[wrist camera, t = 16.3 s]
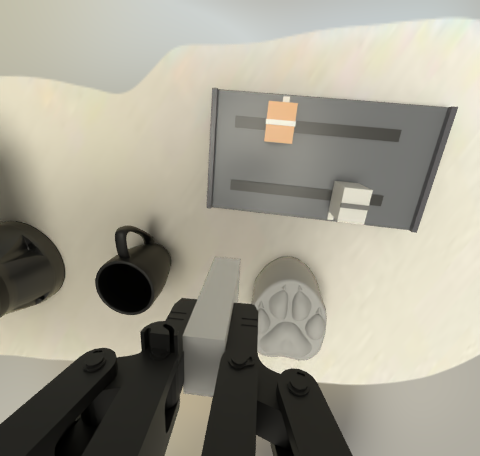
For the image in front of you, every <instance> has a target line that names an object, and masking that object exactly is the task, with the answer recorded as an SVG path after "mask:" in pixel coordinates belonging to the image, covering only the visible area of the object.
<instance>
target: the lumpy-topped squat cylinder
mask: <svg viewBox="0 0 480 456" xmlns="http://www.w3.org/2000/svg"><path fill="white" fill-rule="evenodd" d="M252 304H254V305H255V307H256V308H257V310H258V347H257V351H258V352H259V353H260V354H262V355H265V356H270V357H277V356H281V357H288V358H292V359H296V360H308V359H310V358H312V357H313V356H315V355H316V354H317V353H318V352H319V350H320V348H321V346H322V343H323V339H324V335H325V330H326V319H327V316H326V309H325V306H324V303H323V300H322V297H321V293H320V290H319V287H318V284H317V281H316V279H315V277H314V275H313V273H312V272H311V270H310V269H309V268H308V267H307V266H306V265H305V264H304V263H303V262H302V261H300V260H298V259H296V258H294V257H281V258H278V259H276V260H274V261H272V262H271V263H269V264H268V265H267V266H266V267H265V268H264V269H263V270H262V271H261V272H260V274H259V275H258V277H257V278H256V280H255V284H254V290H253V298H252Z"/></svg>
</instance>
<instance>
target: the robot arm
mask: <svg viewBox="0 0 480 456" xmlns="http://www.w3.org/2000/svg"><path fill="white" fill-rule="evenodd" d="M240 260H241V259H236V258H224V257H215V258H214V261H213V263H212V266H211V268H210V270H209V273H208V275H207V278H206V280H205V283H204V285H203V287H202V290H201V292H200V295H199V297H198V300H196V299H186V298H182V299H180V300H179V301H178V302H177V303H175V304H174V306H173V308H172V310H171V313H169V315H168V317H167V319H166V321H158V322H155V323H151V324H149V325H148V326H146V327H144V328H143V330H142V331H141V332H140V333H141V345H142V351H141V353H139V354H136V355H131V356H125V357H118V358H117V357H116V354H115V352H114V351H112V350H111V349H107V348H99V349H94V350H91V351H89V352H87V353H85V354H83V355H82V356H80V357H79V358H78V359H77V360H76V361H74V362H73V363H72V364H71V365H70V366H69V367H67V368H66V369H65V370H64V371H63V372H61V373H60V374H59V375H58V376H57V377H56V378H54V379H53V380H52V381H51V382H50V383H48V384H47V385H46V386H45V387H44V388H43V389H42V390H40V391H39V392H38V393H37V394H35V395H34V396H33V397H32V398H31V399H30V400H28V401H27V402H26V403H25V404H24V405H22V406H21V407H20V408H19V409H18V410H17V411H15V412H14V413H13V414H12V415H11V416H10V417H8V418H7V419H6V420H5V421H4V422H2V423H1V424H0V456H164V455H165V452H166V449H167V445H168V442H169V439H170V436H171V433H172V429H173V426H174V423H175V420H176V416H177V413H178V410H179V404H180V393H181V390H182V387H183V390H184V393H185V394H193V395H201V396H209V397H213V400H212V405H211V410H210V415H209V420H208V425H207V430H206V435H205V440H204V445H203V450H202V455H201V456H255V450H256V435H258V436H260V437H262V438H263V439H265V440H267V441H269V442H270V443H271V448H272V452H273V456H352V454H351V452H350V449H349V448H348V445H347V444H346V441H345V439H344V437H343V435H342V433H341V431H340V429H339V427H338V425H337V423H336V421H335V419H334V416H333V415H332V412H331V410H330V408H329V406H328V404H327V402H326V400H325V398H324V396H323V394H322V392H321V390H320V388H319V386H318V384H317V382H316V381H315V379H314V378H313V377H312V376H311V375H310V374H308V373H307V372H305V371H302V370H300V369H288V370H285V371H283V372H282V373H281V374H279V373H277V372H274V371H272V370H270V369H268V368H267V367H265V366H264V365H263V364H262V363H261V361H260V360H259V357H258V353H257V347H258V310H257V308H256V307H255V305H254V304H243V303H237V302H238V291H239V275H240ZM63 280H64V265H63V261H62V259H61V256H60V254H59V252H58V250H57V249H56V247H55V246H54V245H53V243H52V242H51V241H50V240H49V239H48V238H47V237H46V236H45V235H44V234H43V233H41V232H40V231H38V230H37V229H35V228H33V227H32V226H29V225H27V224H24V223H20V222H14V221H7V222H2V223H0V317H2V316H3V315H5V314H8V313H11V312H14V311H17V310H20V309H24V308H27V307H30V306H33V305H36V304H39V303H41V302H43V301H45V300H46V299H48V298H49V297H51V296H52V295H54V294H55V293H56V292H57V291H58V290H59V289H60V287H61V286H62V283H63Z"/></svg>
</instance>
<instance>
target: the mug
mask: <svg viewBox="0 0 480 456" xmlns="http://www.w3.org/2000/svg"><path fill="white" fill-rule="evenodd" d="M128 232H134V233H137V234H139V235H140V236H142V238H143V239H144V245H140V246H136V247H133V248H130V249H128V248H127V242H126V236H127V233H128ZM115 242H116V248H117V252H118V255H116V256H115V257H114V258H112V259H111V260H109V261H108V262H107V263H105V264H104V265H103V266H102V267H101V268H100V269H99V271H98V273H97V275H96V279H95V284H96V289H97V292H98V294H99V296H100V298H101V299H102V301H103V302H104V303H105V304H106V305H107V306H108V307H110V308H111V309H113V310H114V311H116V312H119V313H121V314H126V315H136V314H140V313H142V312H145V311H146V310H147V309H148V308H150V306H151V305H152V304H153V302H154V301H155V300H156V298H157V297H158V295H159V294H160V293H161V291H162V289H163V287H164V285H165V283H166V280H167V277H168V274H169V269H170V265H171V257H170V254H169V252H168V251H167V250H166V249H165V248H164V247H163V246H162V245H159V244H156V243H154V239H153V237H152V236H151V235H150V234H148V233H147V232H145V231H143V230H140V229H138V228H136V227H133V226H123V227H120V228H118V229H117V231H116V233H115Z"/></svg>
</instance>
